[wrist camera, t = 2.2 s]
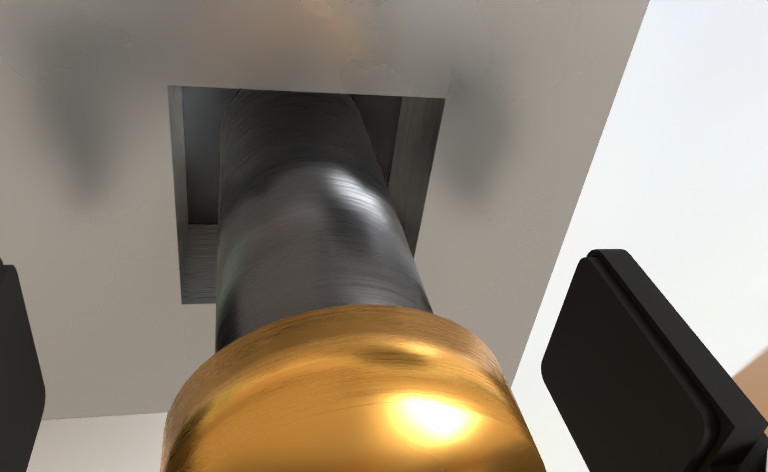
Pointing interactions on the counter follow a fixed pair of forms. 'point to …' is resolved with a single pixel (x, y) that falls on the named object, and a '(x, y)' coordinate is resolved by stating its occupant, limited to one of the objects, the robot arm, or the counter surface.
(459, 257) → the grey slotted block
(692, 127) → the counter surface
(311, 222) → the pin
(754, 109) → the counter surface
